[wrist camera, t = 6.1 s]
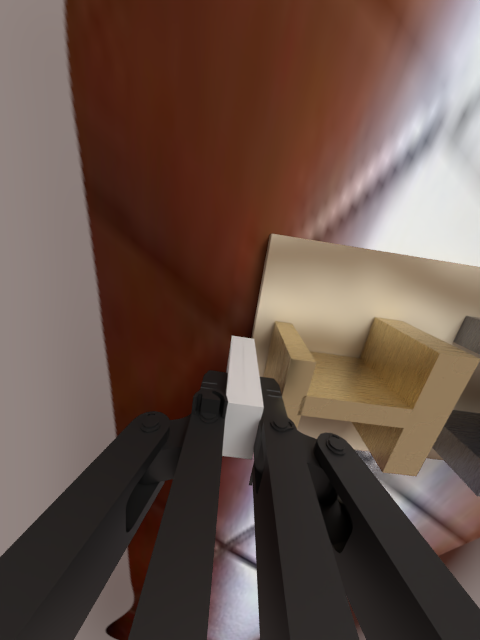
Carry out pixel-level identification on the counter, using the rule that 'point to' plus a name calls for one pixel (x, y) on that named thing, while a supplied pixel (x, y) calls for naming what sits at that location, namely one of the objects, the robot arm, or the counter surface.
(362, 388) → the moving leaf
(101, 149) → the counter surface
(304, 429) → the mounting board
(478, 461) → the dark grey hollow housing
